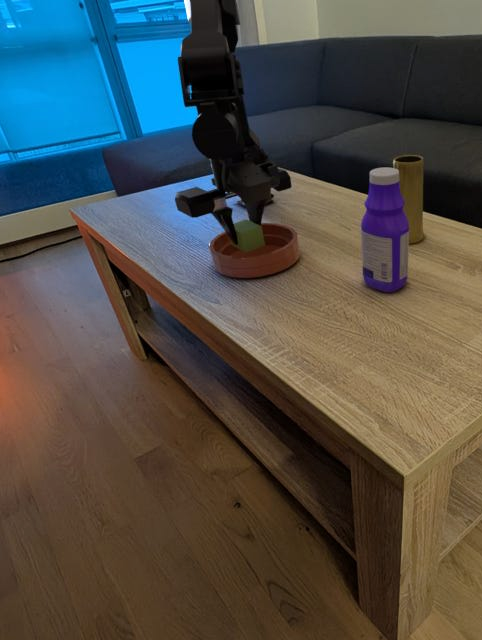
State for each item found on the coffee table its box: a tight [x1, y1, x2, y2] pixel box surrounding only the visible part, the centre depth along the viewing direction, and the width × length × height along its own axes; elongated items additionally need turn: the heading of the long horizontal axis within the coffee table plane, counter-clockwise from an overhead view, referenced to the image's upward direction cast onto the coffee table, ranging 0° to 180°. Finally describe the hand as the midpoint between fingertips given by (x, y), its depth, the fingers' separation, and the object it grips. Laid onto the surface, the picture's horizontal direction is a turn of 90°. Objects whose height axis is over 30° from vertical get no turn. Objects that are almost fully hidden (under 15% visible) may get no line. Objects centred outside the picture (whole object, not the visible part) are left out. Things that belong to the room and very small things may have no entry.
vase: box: [392, 154, 425, 245], centre depth 81 cm, size 6×6×14 cm
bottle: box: [360, 166, 410, 293], centre depth 66 cm, size 7×6×17 cm
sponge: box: [230, 219, 265, 252], centre depth 78 cm, size 5×4×4 cm
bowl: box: [208, 222, 301, 279], centre depth 81 cm, size 16×16×4 cm
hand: (246, 240), depth 78 cm, fingers closed on sponge, 4 cm apart
